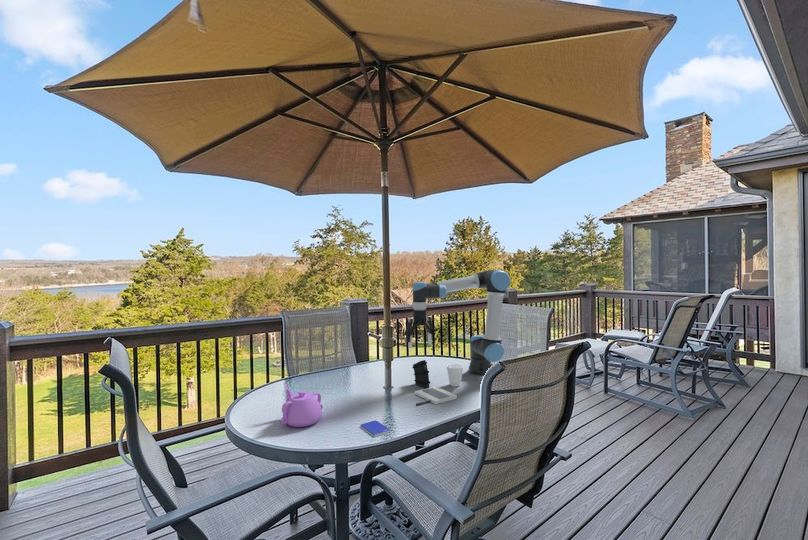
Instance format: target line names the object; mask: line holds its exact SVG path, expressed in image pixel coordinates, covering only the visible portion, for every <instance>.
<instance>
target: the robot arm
mask: <svg viewBox="0 0 808 540" xmlns="http://www.w3.org/2000/svg"><path fill="white" fill-rule="evenodd" d="M510 286H511V277H510V275H509V274H508V273H507V272H506V271H504V270H500V269H493V270H492V269H487V270H483V271H479V272H475V273H473V274H472V275H469V276H463V277H459V278H453V279H447V280H441V281H436V282H431V283H429V282H425V281H415V282H413V283H412V309H413V310H412V316H413V318H408V321H407V325H406V327H405V330H404V332H403V335H404V336H406V342H407V343H408V344H407V346H408V349H413V337H412V335H413V333H414V332H415V330H416V329H417V328H418V327H420V326H423V327H424V328H425V329H426V331H427V345H428V346H432V345H433V344H432V343H433V340H432V339H433V335H434V333H435V332H436V329H435V327H434V325H433V323H432V317H430V316H429V315H428V316H427V299H444V298H446V296H447V294H448V293H452V292H458V291H463V290H469V289H473V288H474V289H476V290H477V289H486V290H485V293H487V295H488V297H487V305H486V306H487V307H486V317H485V329H484V334H476V335H472V336H471V337H470V362H469V365H468V373H470V374H473V375H479V376H483V375H484V376H485V373H486V371H487V370H488V368H490V367H491V366H493V365H492V363H496V362H499V361H500V360H501V359H502V358H503V357H504V355H505V348H504V345H503V344H502V342H503V341H502V340H503V339H502V337H501V336H500V332H501V322H502V313H503V311H502V309H503V301H504V296H505V295H506V294H507V290H508V289H509V287H510Z"/></svg>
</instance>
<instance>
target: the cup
mask: <svg viewBox="0 0 808 540" xmlns="http://www.w3.org/2000/svg"><path fill="white" fill-rule="evenodd" d="M464 367H465V366H464V364H460V363H449V364H446V370H447V376H448V382H449V385H450V386H451V387H460V386H461V384H462V380H463V379H462V378H463V371H464Z"/></svg>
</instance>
